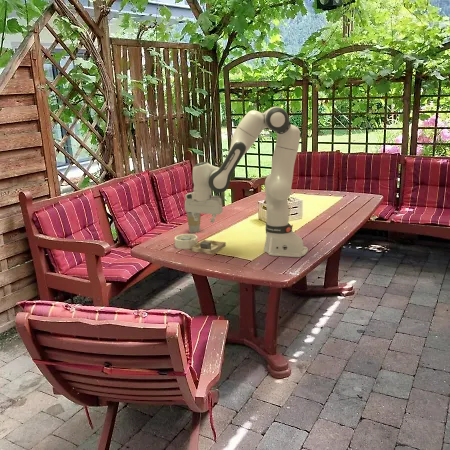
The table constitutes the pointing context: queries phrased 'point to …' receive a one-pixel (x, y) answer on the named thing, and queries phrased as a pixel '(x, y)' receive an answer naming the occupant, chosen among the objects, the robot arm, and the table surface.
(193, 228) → the coffee cup
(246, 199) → the table surface
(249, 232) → the table surface
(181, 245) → the bowl
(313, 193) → the table surface
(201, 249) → the parts tray
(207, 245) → the charcoal cube
